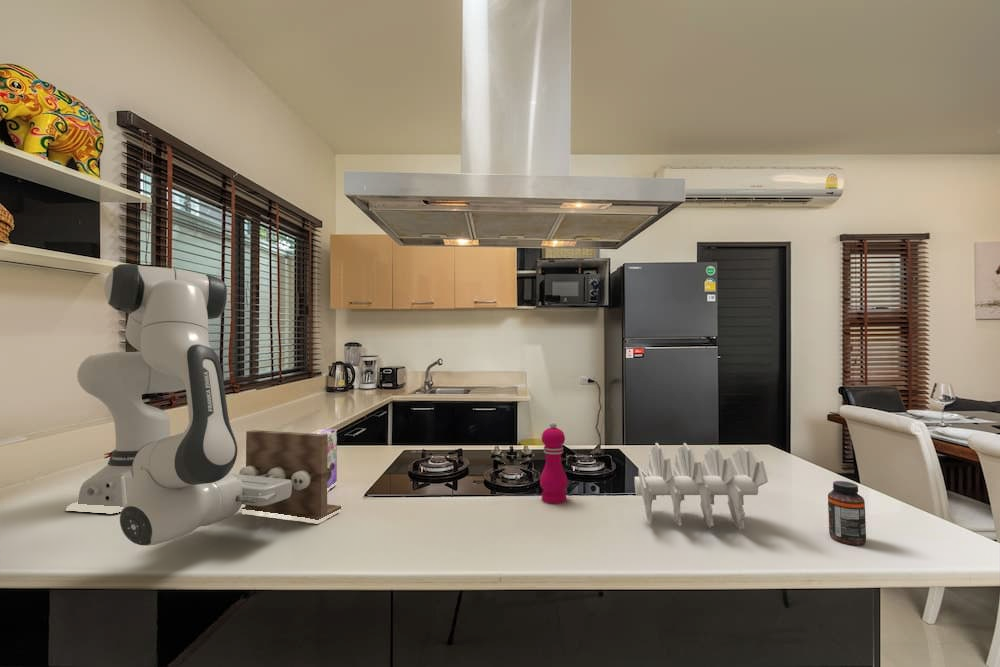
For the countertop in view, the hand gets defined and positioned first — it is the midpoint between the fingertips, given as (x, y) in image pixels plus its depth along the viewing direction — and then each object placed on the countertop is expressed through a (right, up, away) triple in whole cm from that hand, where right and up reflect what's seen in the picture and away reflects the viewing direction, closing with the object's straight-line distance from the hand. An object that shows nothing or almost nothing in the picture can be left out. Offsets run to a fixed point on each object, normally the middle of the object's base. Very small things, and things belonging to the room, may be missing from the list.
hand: (273, 477), depth 102 cm
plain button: (+1, -2, +3) cm, 3 cm away
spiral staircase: (+95, -9, -3) cm, 96 cm away
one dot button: (-6, -2, +4) cm, 8 cm away
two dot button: (+8, -2, -1) cm, 8 cm away
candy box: (+2, -11, +20) cm, 23 cm away
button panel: (+2, -10, +5) cm, 11 cm away
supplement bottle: (+122, -9, -12) cm, 123 cm away
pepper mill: (+66, -10, +13) cm, 68 cm away
